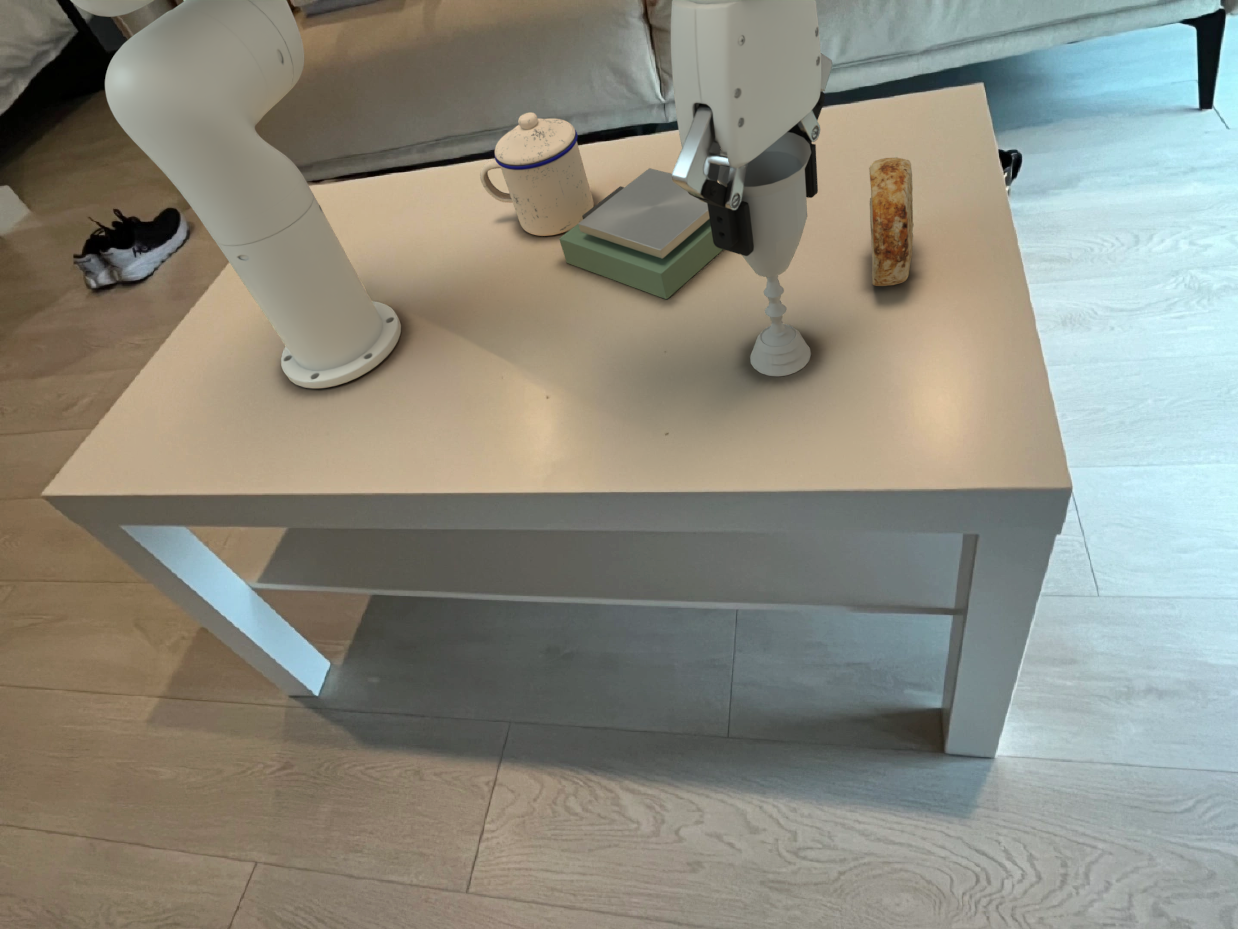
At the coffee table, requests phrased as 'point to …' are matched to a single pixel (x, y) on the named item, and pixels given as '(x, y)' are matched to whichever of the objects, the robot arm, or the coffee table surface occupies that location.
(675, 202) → the pan
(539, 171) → the teacup with lid
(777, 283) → the chalice
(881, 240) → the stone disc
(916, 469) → the coffee table surface
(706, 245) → the scale
